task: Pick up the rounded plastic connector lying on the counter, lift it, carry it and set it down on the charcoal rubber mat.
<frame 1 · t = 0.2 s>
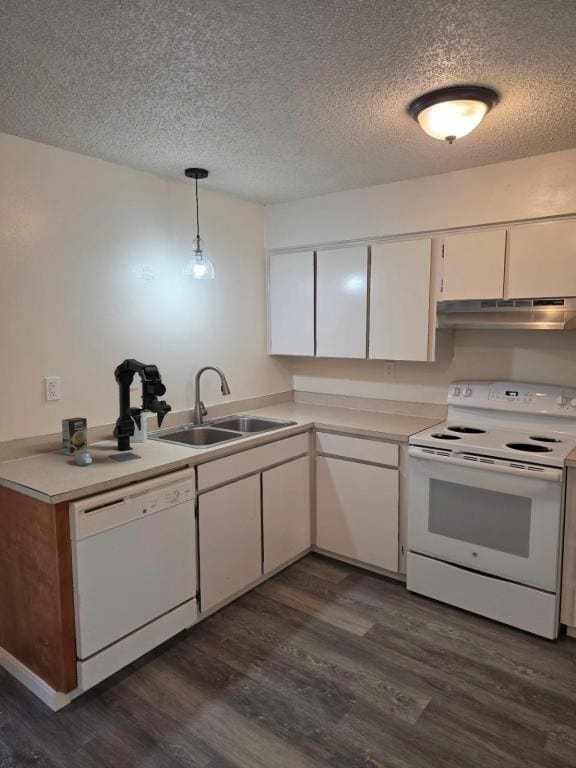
hand: (149, 429, 220), 14 cm above the countertop, fingers open, 9 cm apart
mat: (124, 457, 228), on the countertop
connector: (83, 463, 217), on the countertop
coffee box: (75, 453, 235), on the countertop
supplement box: (136, 440, 261), on the countertop
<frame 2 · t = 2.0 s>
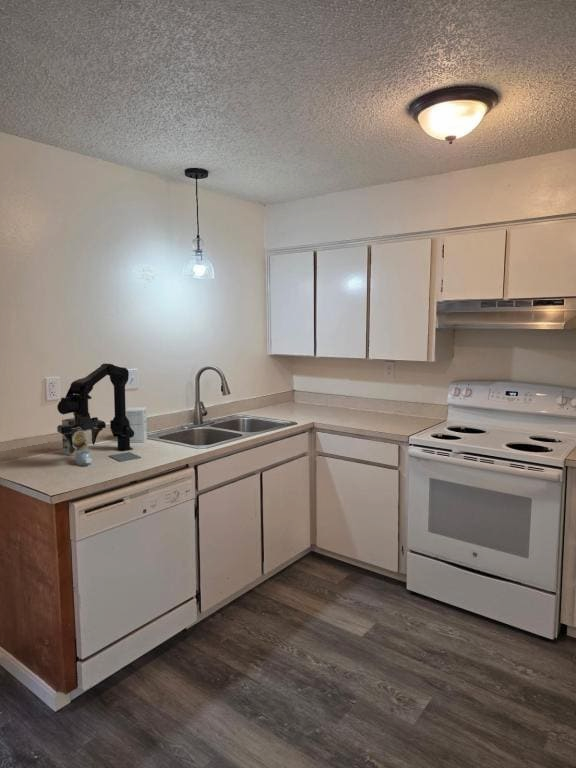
hand: (82, 446, 217), 8 cm above the countertop, fingers open, 9 cm apart
nothing on the countertop moved.
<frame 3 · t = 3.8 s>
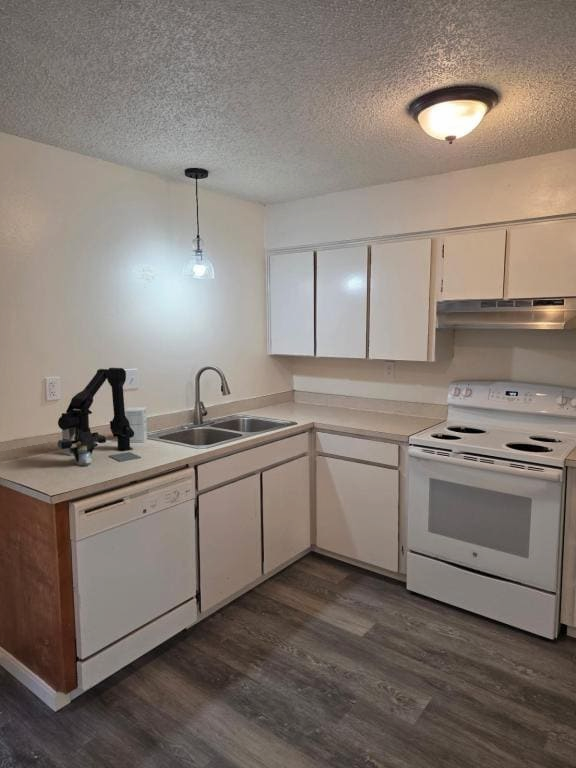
hand: (83, 461, 217), 1 cm above the countertop, fingers closed on connector, 4 cm apart
connector: (83, 463, 217), on the countertop, touching gripper
everything else where it was.
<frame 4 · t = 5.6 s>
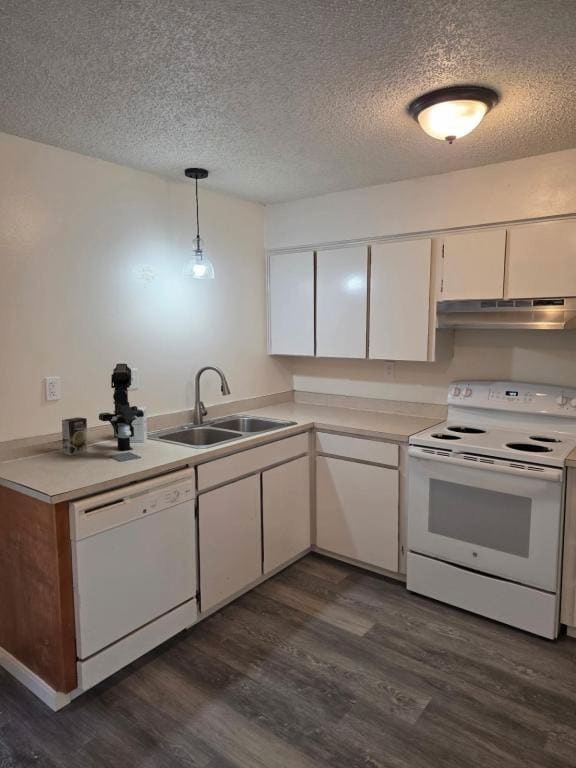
hand: (122, 433, 226), 11 cm above the countertop, fingers closed on connector, 4 cm apart
connector: (122, 436, 227), point 10 cm above the countertop, touching gripper
everything else where it was.
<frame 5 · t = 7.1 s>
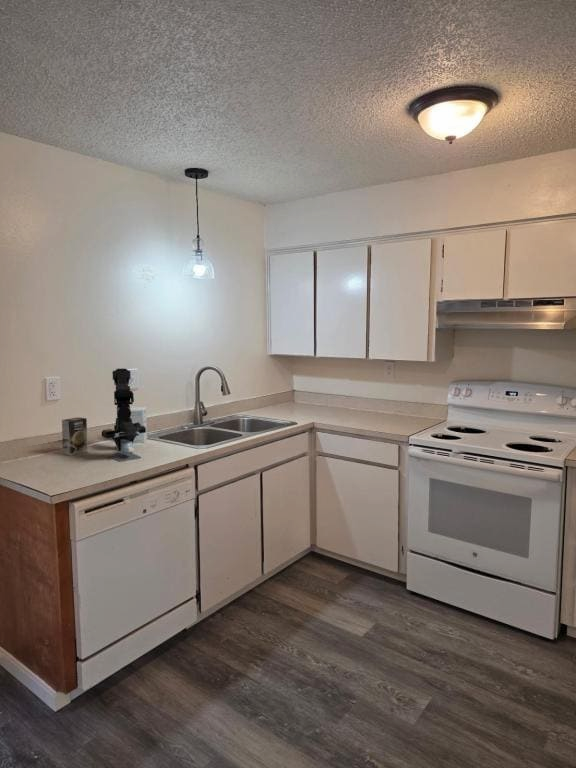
hand: (124, 450, 228), 3 cm above the countertop, fingers closed on connector, 4 cm apart
connector: (124, 452, 228), point 2 cm above the countertop, touching gripper
everything else where it was.
when the fingers open (3 cm above the countertop, at t = 7.9 s): connector drops 2 cm, resting on mat.
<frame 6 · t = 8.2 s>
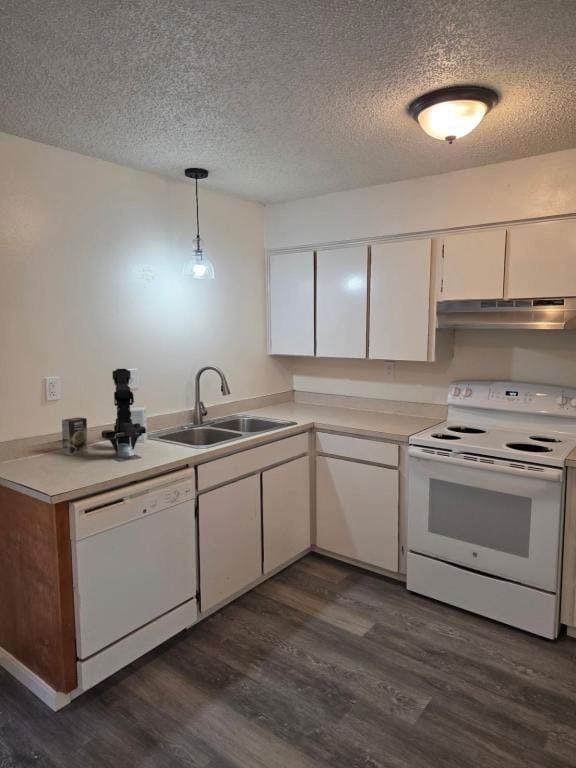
hand: (124, 450, 228), 3 cm above the countertop, fingers open, 7 cm apart
connector: (124, 456, 228), resting on mat
everything else where it was.
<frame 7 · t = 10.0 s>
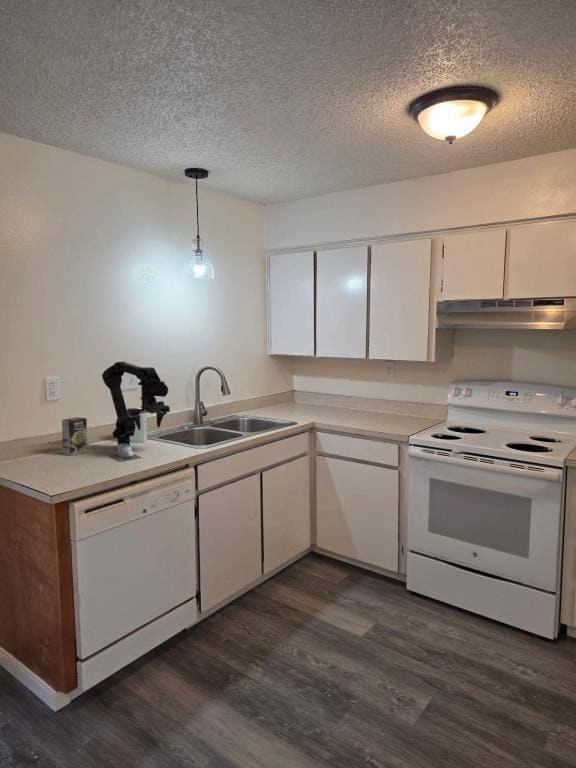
hand: (149, 428, 231), 12 cm above the countertop, fingers open, 9 cm apart
nothing on the countertop moved.
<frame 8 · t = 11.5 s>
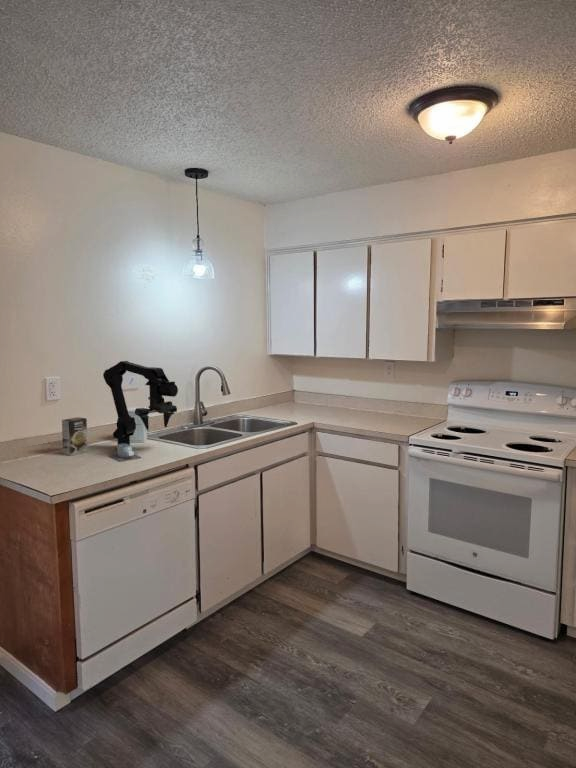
hand: (156, 428, 233), 12 cm above the countertop, fingers open, 9 cm apart
nothing on the countertop moved.
at the end: connector inside the target area on the mat (0.1 cm from its centre), point 0.4 cm above the mat's base; the gripper is holding nothing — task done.
